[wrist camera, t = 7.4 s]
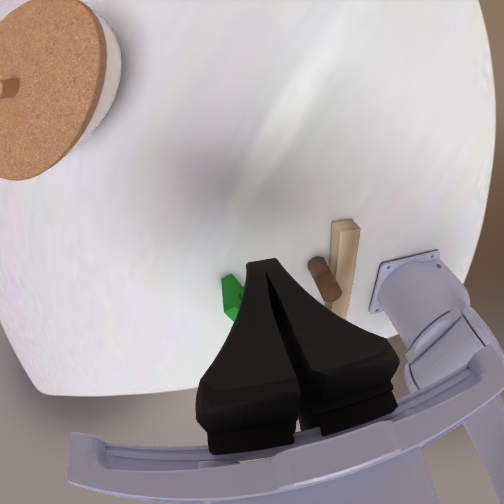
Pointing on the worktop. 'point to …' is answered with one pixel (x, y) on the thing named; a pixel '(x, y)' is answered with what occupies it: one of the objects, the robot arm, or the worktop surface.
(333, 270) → the peg rack
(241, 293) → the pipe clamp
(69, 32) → the lidded jar
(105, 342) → the worktop surface
